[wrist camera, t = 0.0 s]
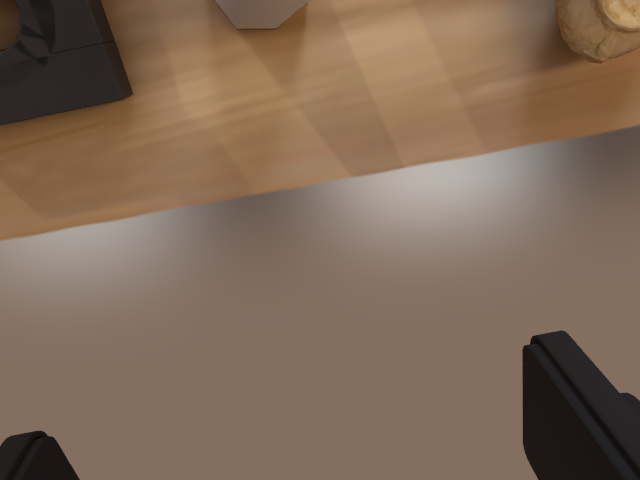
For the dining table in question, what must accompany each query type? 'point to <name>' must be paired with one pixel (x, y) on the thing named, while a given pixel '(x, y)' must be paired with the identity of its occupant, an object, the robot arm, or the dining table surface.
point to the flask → (259, 12)
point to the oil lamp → (599, 27)
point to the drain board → (60, 61)
